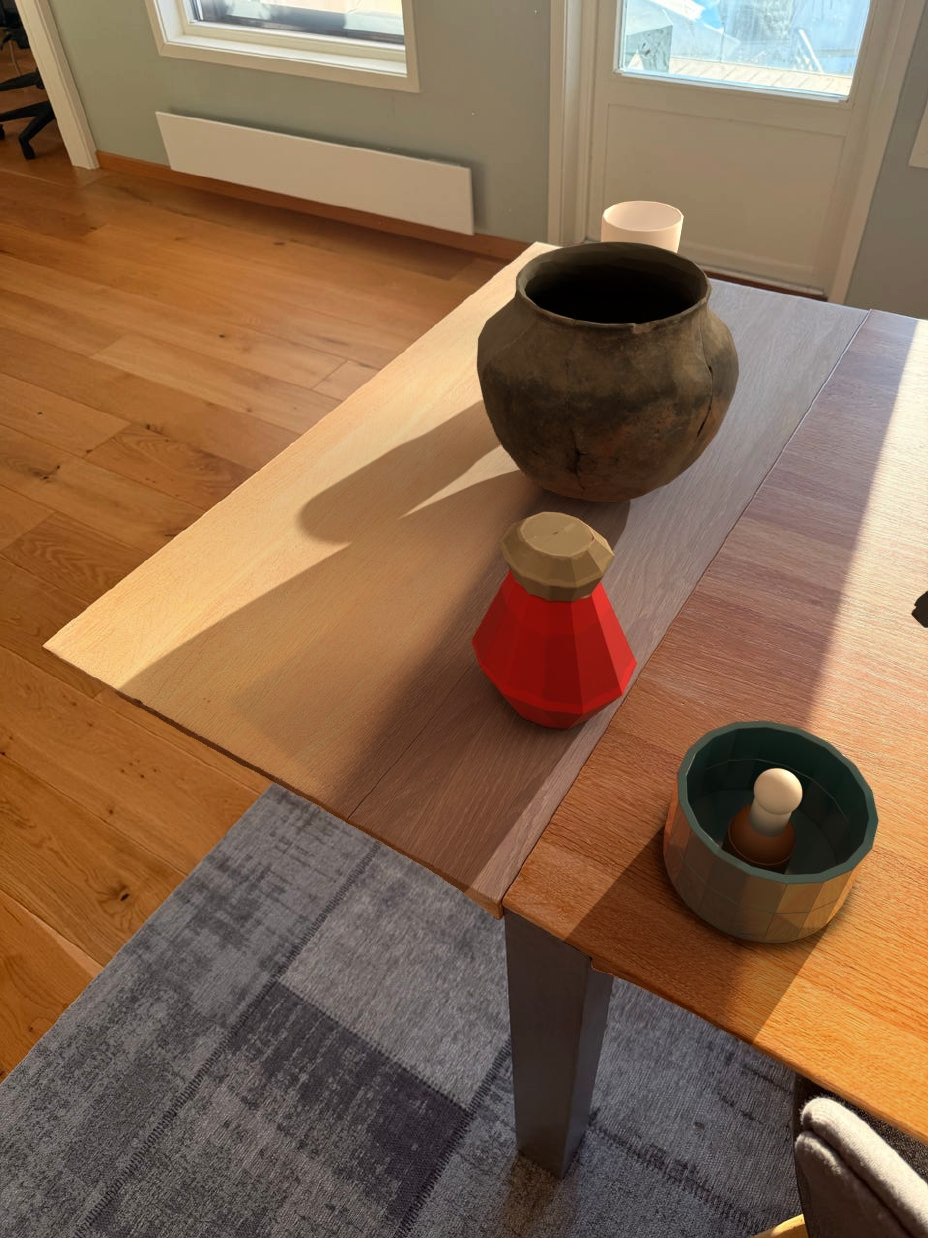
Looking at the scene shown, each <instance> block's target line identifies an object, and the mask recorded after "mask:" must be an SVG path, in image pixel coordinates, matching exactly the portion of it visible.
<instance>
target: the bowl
mask: <svg viewBox="0 0 928 1238" xmlns="http://www.w3.org/2000/svg"><path fill="white" fill-rule="evenodd" d="M770 769H784V770H786V771H789V772H790V773H792V774H793V775H794V776H795V777H796V778H797V779H798V781H799V782H800V785H801V788H802V798H801V801H800V804H799V805H798V807H797V808H796V809H795V810H793V811H792V812H791V815H790V817H789V819H790V821H791V823H792V825H793V827H794V831H795V840H796V846H795V850H794V853H793V855H792V857H791V860H790V862H789V864H788V867H787V869H786V872H785V873H784V875H783V874H779V873H775V872H771V871H767V870H763V869H759V868H755V867H751V866H749V865H748V864H746V863H744V862H743V861H741V860H739V859H737V858H736V857H734V856H732V855H730V854H729V853H727V852H725V851H723V850H722V845H723V841H724V838H725V835H726V832H727V829H728V825H729V823H730V821H731V819H732V818H733V817H734V816H735V815H736V813H737V812H738V811H740V810H741V809H742V808H744V807H746V806H748V805H751V804H753V801H754V798H755V795H754V785H755V782H756V780H757V778H758V777H759V776H760V775H761V774H762V773H763V772H765V771H767V770H770ZM675 777H676V778H675V781H674V788H673V790H672V795H671V799H670V804H669V808H668V813H667V818H666V822H665V826H664V831H663V843H662V844H663V845H662V847H663V860H664V865H665V869H666V872H667V875H668V877H669V879H670V881H671V885H672V886H673V887H674V889H675V891H676V892H677V894H678V896H679V897H680V898H681V899H682V900H683V902H684V903H685V904H686V905H687V907H689V908H690V909H691V910H692V911H693V912H694V914H696V915H698V916H699V917H700V918H701V919H702V920H703V921H705V922H706V923H708V924H709V925H711V926H712V927H714V928H716V929H718V930H720V931H721V932H723V933H725V934H728V935H731V936H733V937H736V938H737V939H742V940H744V941H745V940H746V941H750V942H755V943H762V944H783V943H791V942H795V941H799V940H802V939H804V938H807V937H809V936H811V935H814V934H815V933H817V932H818V931H820V930H821V929H823V928H824V927H825V926H826V925H827V924H828V923H830V922H831V920H832V919H833V918H834V917H835V915H836V913H838V911H839V910H840V909H841V908H842V906H843V905H844V903H845V901H846V899H847V897H848V895H849V894H850V891H851V890H852V887H853V885H854V884H855V882H856V880H857V879H858V877H859V875H860V872H861V871H862V869H863V867H864V865H865V864H866V861H867V860H868V857H869V855H870V853H871V852H872V851H873V848H874V845H875V840H876V836H877V832H878V829H879V824H880V818H879V813H878V809H877V804H876V799H875V795H874V792H873V789H872V788H871V786H870V785H869V783H868V782H867V780H866V779H865V777H864V776H863V774H862V772H861V771H860V769H859V767H858V766H857V765H856V764H855V763H854V762H853V761H852V760H851V759H850V758H849V757H847V756H846V755H845V754H844V753H843V752H842V751H840V750H839V749H838V748H837V747H836V746H835V745H833V744H832V743H831V742H829V741H827V740H825V739H823V738H821V737H819V736H817V735H815V734H814V733H811V732H809V731H807V730H805V729H804V728H800V727H799V726H795V725H789V724H785V723H780V722H775V721H771V720H749V721H747V720H746V721H745V720H744V721H735V722H731V723H729V724H725V725H723V726H720V727H717V728H715V729H712V730H708V731H707V732H706V733H705V734H703V735H702V736H701V737H700V738H699V739H698V740H697V741H696V742H694V743H693V744H692V745H691V746H690V747H689V748H688V749H687V750H686V752H685V755H684V757H683V759H682V762H681V763H680V765H679V768H678V771H677V773H676V776H675Z"/></svg>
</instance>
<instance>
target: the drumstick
mask: <svg viewBox="0 0 928 1238" xmlns="http://www.w3.org/2000/svg"><path fill="white" fill-rule="evenodd" d="M754 795H755V798H754V801H753V804H751V805H748V806H746V807H744V808H742V809H741V810H740V811H738V812H737V813H736V815H735V816H734V817H733V818H732V819H731V821H730V823H729V825H728V829H727V832H726V835H725V838H724V841H723V845H722V850H723V851H725V852H727V853H729V854H730V855H732V856H734V857H736V858H737V859H739V860H741V861H743V862H744V863H746V864H748V865H749V866H751V867H755V868H759V869H763V870H767V871H771V872H775V873H779V874H783V875H784V873H785V872H786V869H787V867H788V864H789V862H790V860H791V857H792V855H793V853H794V850H795V846H796V840H795V831H794V827H793V825H792V823H791V821H790V819H789V817H790V815H791V812H792V811H793V810H795V809H796V808H797V807H798V805H799V804H800V801H801V798H802V788H801V785H800V782H799V781H798V779H797V778H796V777H795V776H794V775H793V774H792V773H790V772H789V771H786V770H784V769H770V770H767V771H765V772H763V773H762V774H761V775H760V776H759V777H758V778H757V780H756V782H755V785H754Z"/></svg>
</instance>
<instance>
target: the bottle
mask: <svg viewBox="0 0 928 1238" xmlns="http://www.w3.org/2000/svg"><path fill="white" fill-rule="evenodd" d="M498 545H499V548H500V550H501V553H502V555H503V558H504V561H505V562H506V564H507V566H508V568H509V571H508V572H507V574H506V576H505V577H504V579H503V581H502V583H501V585H500V587H499V589H498V591H497V593H496V594H495V596H494V597H493V600H492V602H491V604H490V605H489V607H488V609H487V611H486V612H485V614H484V616H483V618H482V620H481V622H480V623H479V626H478V627H477V629H476V631H475V633H474V635H473V636H472V638H471V640H470V641H471V645H472V649H473V650H474V653H475V657H476V661H477V664H478V666H479V669H480V670H481V671H482V672H483V674H484V675H485V677H487V678H488V679H489V681H490V682H491V684H492V685H493V686H494V687H495V688H496V689H497V691H498V692H499V694H501V695H502V697H503V698H504V700H506V702H507V703H508V704H509V705H510V706H511V707H512V708H513V710H514V711H515V712H517V714H518V715H519V716H520V717H521V718H522V719H524V720H526V721H528V722H531V723H534V724H536V725H538V726H540V727H543V728H546V729H556V730H565V731H568V730H570V729H572V728H574V727H576V726H578V725H581V724H583V723H584V722H588V721H589V720H591V719H592V718H594V717H595V716H597V714H599V713H601V711H603V710H605V709H606V708H607V707H609V706H610V705H612V704H613V703H614V702H615V701H616V700H617V701H618V699H620V698H621V697H622V696H624V693H625V691H626V689H627V687H628V684H629V683H630V680H631V678H632V676H633V674H634V672H635V669H636V667H637V665H638V662H637V659H636V658H635V655H634V653H633V651H632V648H631V646H630V644H629V642H628V639H627V636H626V635H625V633H624V630H623V628H622V626H621V624H620V622H619V619H618V617H617V614H616V613H615V610H614V608H613V606H612V604H611V602H610V599H609V597H608V595H607V593H606V589H605V588H604V586H603V584H602V580H603V578H604V577H605V575H606V573H607V571H608V570H609V568H610V567H611V564H612V563H613V560H614V559H615V554H614V552H613V550H612V548H611V546H610V544H609V543H608V540H607V539H606V538H604V537H603V536H602V535H601V534H600V533H598V532H597V531H596V530H595V529H593V528H592V527H591V526H589V525H588V524H587V523H585V522H584V521H582V520H581V519H580V518H578V517H575V516H571V515H569V514H566V513H563V512H555V511H541V512H539V513H537V514H533V515H531V516H529V517H526V518H523V519H521V520H520V521H516V522H514V523H512V524H510V525H509V526H508V528H507V529H506V531H505V532H504V534H503V535H502V537H501V538H500V540H499V541H498Z"/></svg>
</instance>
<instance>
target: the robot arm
mask: <svg viewBox="0 0 928 1238" xmlns="http://www.w3.org/2000/svg"><path fill="white" fill-rule="evenodd" d="M913 606H914V609H912V611H911V612H910V613H911V614H910V616H912V618H914V620H916V622H917V623H918V624H920V625H921V626H922V627H923V628H924V629H928V589H927V590H926V591H925V592H924V593H922V594H921V595H920V596H919V597H918V598H917V599H916V600H915V601H914V604H913Z"/></svg>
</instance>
